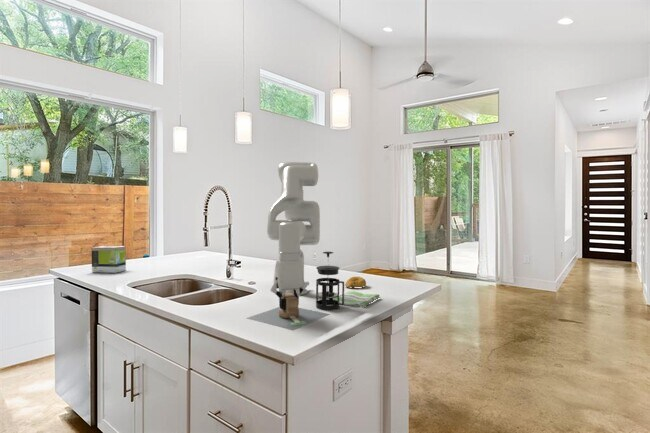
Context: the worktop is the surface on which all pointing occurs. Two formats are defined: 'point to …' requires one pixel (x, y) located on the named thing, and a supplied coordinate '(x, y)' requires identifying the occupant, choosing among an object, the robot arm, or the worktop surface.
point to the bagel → (355, 282)
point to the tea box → (108, 259)
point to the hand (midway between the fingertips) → (289, 307)
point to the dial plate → (288, 323)
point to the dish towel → (357, 299)
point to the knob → (290, 308)
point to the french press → (325, 294)
